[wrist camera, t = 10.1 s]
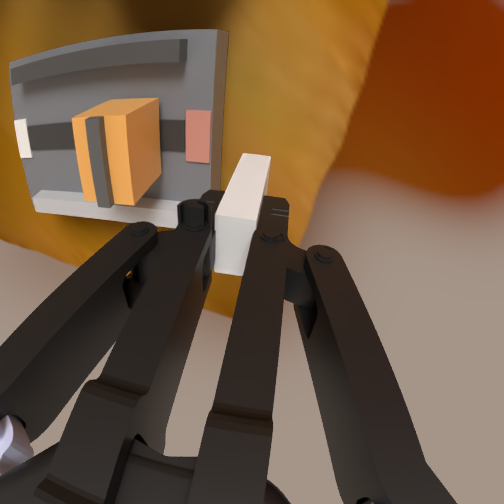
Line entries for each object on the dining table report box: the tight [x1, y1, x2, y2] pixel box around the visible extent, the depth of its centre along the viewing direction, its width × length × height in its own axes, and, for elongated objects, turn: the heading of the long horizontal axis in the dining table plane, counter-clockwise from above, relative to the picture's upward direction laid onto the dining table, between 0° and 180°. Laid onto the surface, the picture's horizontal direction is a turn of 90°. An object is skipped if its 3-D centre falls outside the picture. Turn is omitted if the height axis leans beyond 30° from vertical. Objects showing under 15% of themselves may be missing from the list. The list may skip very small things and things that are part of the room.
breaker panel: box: [9, 29, 229, 228], centre depth 23 cm, size 20×16×6 cm
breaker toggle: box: [72, 98, 161, 208], centre depth 19 cm, size 4×6×6 cm, turn 175°
